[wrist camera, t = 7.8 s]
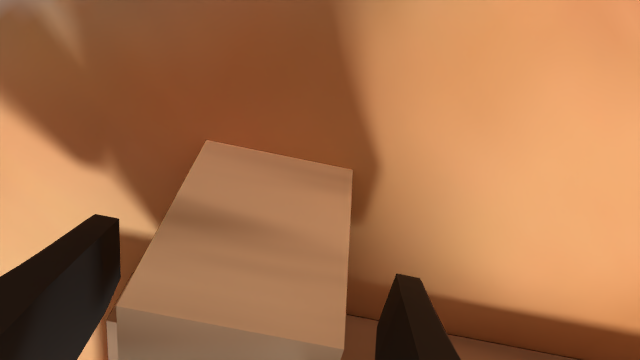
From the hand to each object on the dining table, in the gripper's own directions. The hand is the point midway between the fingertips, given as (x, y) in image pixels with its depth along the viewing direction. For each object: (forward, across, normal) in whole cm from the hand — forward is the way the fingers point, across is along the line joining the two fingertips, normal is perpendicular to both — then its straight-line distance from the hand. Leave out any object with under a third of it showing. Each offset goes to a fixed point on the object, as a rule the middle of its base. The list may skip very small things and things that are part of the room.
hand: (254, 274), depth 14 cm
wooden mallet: (+2, 0, +4) cm, 5 cm away
